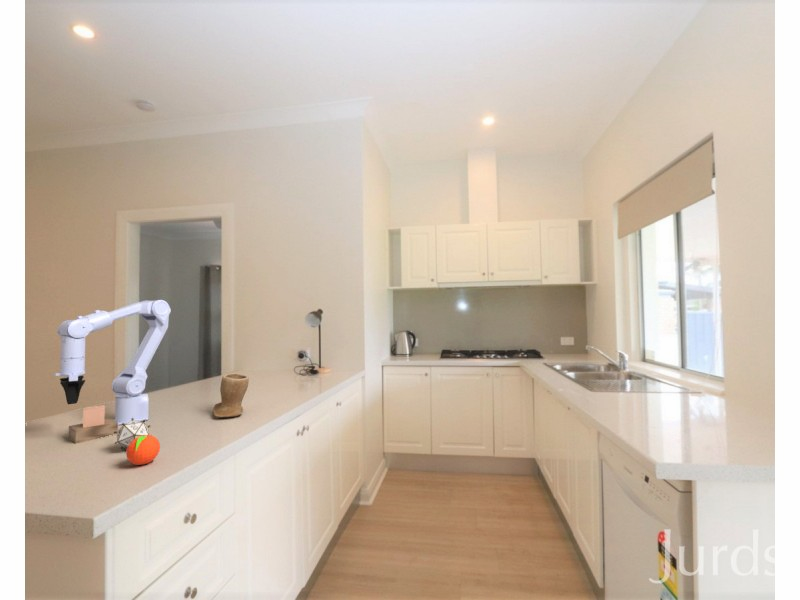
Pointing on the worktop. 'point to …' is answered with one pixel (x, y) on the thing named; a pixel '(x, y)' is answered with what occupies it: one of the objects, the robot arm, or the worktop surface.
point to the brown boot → (231, 395)
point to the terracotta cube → (93, 416)
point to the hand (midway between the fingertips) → (71, 401)
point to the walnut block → (92, 431)
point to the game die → (131, 432)
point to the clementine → (143, 449)
